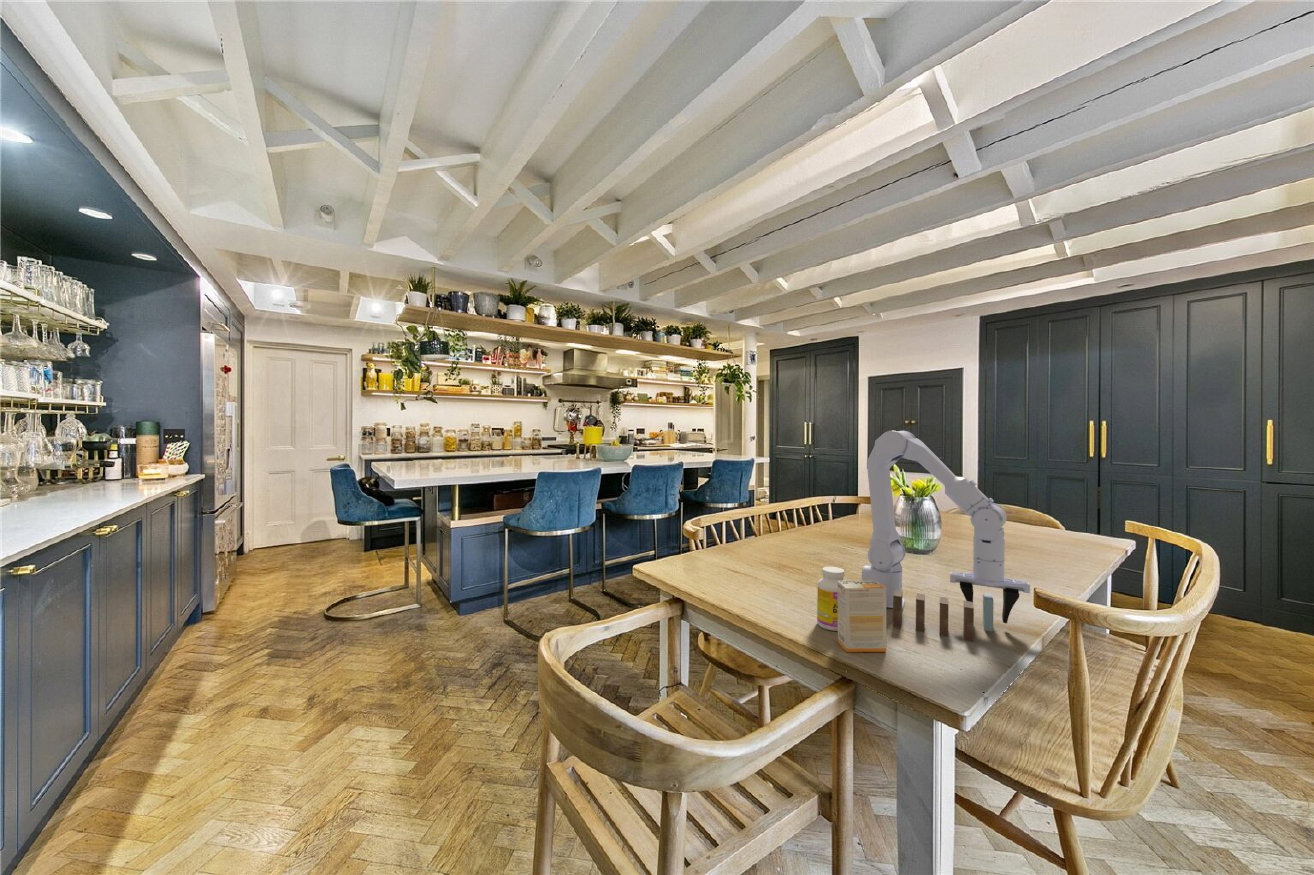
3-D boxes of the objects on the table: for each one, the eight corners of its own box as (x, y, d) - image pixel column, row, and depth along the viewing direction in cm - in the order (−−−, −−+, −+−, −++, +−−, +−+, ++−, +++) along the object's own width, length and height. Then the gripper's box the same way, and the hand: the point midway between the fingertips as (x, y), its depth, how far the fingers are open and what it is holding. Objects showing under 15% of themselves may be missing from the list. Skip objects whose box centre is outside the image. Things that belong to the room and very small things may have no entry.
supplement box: (875, 642, 99) (876, 579, 98) (887, 652, 94) (887, 587, 94) (836, 642, 99) (836, 579, 98) (845, 652, 94) (845, 587, 93)
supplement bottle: (832, 634, 102) (832, 575, 102) (810, 622, 108) (811, 567, 108) (855, 629, 105) (855, 571, 105) (833, 618, 111) (833, 563, 111)
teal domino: (984, 630, 104) (984, 598, 104) (982, 623, 108) (983, 592, 108) (993, 631, 103) (993, 600, 103) (991, 624, 107) (991, 594, 107)
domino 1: (892, 626, 106) (893, 595, 106) (894, 619, 110) (894, 589, 110) (900, 627, 106) (901, 596, 105) (902, 620, 109) (902, 590, 109)
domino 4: (964, 639, 99) (964, 606, 99) (963, 632, 103) (963, 600, 103) (973, 641, 99) (973, 608, 99) (972, 633, 102) (972, 601, 102)
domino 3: (939, 635, 102) (939, 602, 102) (939, 627, 106) (939, 596, 105) (948, 636, 101) (948, 604, 101) (947, 629, 105) (948, 598, 105)
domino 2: (915, 630, 104) (915, 599, 104) (916, 623, 108) (916, 593, 108) (924, 632, 103) (924, 600, 103) (924, 625, 107) (924, 594, 107)
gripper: (950, 558, 106) (950, 618, 106) (1032, 567, 98) (1031, 632, 99) (950, 551, 112) (949, 608, 112) (1027, 559, 104) (1026, 620, 105)
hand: (987, 618), depth 106 cm, fingers open, 5 cm apart
